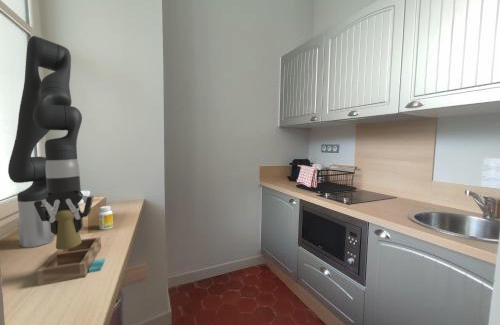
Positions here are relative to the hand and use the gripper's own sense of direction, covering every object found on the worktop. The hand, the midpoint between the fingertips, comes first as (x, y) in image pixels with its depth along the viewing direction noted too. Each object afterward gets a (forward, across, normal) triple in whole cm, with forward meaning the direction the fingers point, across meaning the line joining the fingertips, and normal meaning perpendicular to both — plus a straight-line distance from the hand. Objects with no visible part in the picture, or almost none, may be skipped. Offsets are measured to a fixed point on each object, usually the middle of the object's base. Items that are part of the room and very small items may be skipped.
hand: (67, 232), depth 67 cm
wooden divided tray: (+12, +1, +5) cm, 13 cm away
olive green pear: (+4, 0, 0) cm, 4 cm away
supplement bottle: (+12, +3, +38) cm, 40 cm away
